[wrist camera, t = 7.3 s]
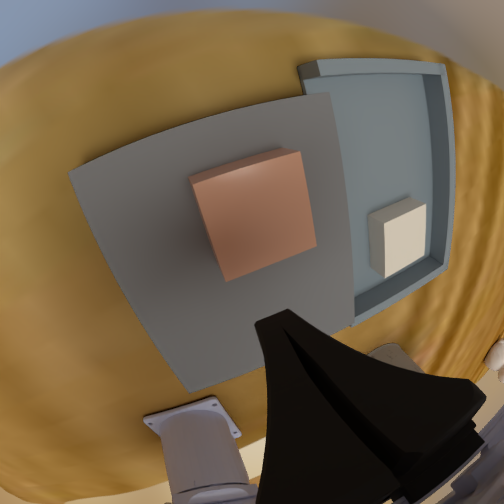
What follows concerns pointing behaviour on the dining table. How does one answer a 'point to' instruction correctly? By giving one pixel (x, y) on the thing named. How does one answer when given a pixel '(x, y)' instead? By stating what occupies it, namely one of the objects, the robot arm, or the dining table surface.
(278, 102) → the plate
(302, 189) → the terracotta tile
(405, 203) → the cream tile
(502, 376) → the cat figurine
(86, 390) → the dining table surface
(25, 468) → the dining table surface
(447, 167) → the tray
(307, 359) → the robot arm
